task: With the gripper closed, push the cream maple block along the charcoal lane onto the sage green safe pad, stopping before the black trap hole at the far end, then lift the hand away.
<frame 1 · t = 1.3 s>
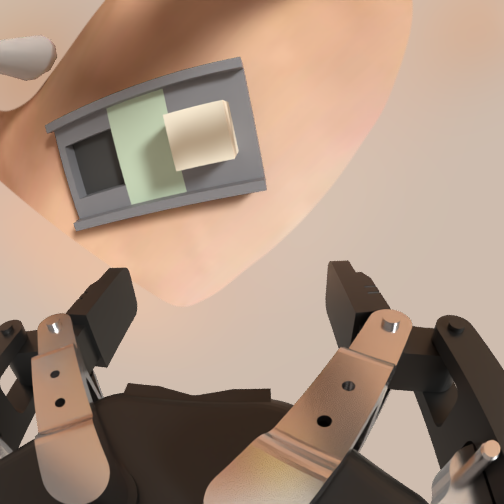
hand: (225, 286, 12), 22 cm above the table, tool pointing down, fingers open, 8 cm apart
salt shaker: (45, 58, 25), on the table
trap lane: (153, 145, 30), on the table
maple block: (208, 131, 28), point 2 cm above the table, touching trap lane
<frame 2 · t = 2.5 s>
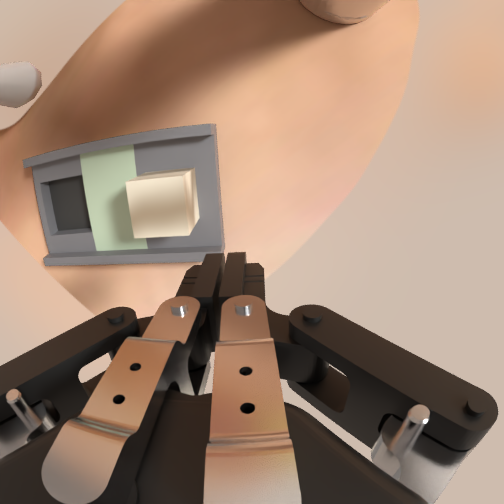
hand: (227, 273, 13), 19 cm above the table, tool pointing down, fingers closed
salt shaker: (31, 84, 25), on the table
trap lane: (121, 196, 31), on the table
maple block: (172, 194, 29), point 2 cm above the table, touching trap lane
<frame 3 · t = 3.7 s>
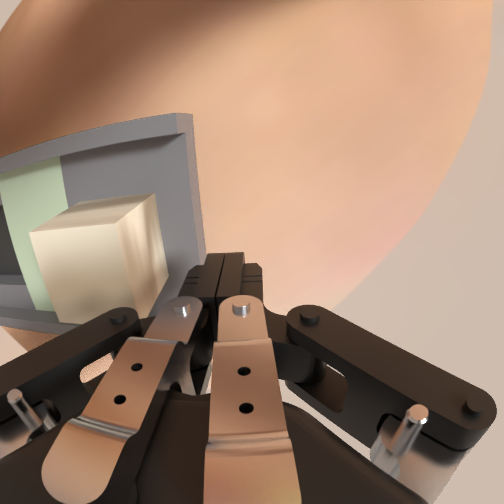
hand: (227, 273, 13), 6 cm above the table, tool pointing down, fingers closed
trap lane: (59, 233, 19), on the table
maple block: (122, 238, 17), point 2 cm above the table, touching trap lane
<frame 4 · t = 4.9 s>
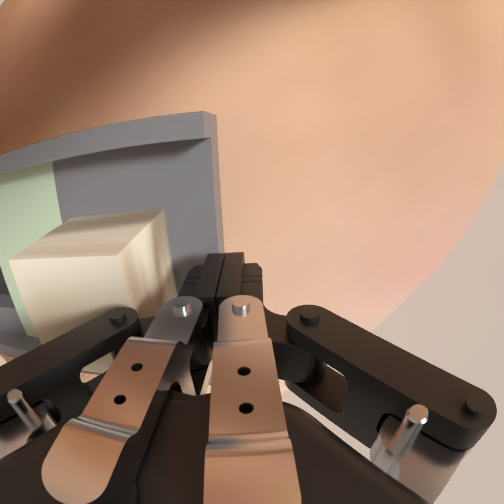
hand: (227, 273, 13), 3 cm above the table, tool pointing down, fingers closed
trap lane: (51, 251, 16), on the table
maple block: (123, 262, 14), point 2 cm above the table, touching gripper
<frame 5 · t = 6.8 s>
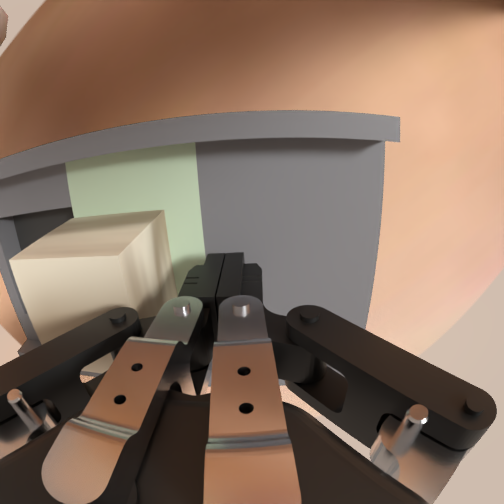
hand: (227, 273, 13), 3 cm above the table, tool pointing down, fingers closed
trap lane: (157, 249, 16), on the table
maple block: (123, 263, 14), point 2 cm above the table, touching gripper, trap lane
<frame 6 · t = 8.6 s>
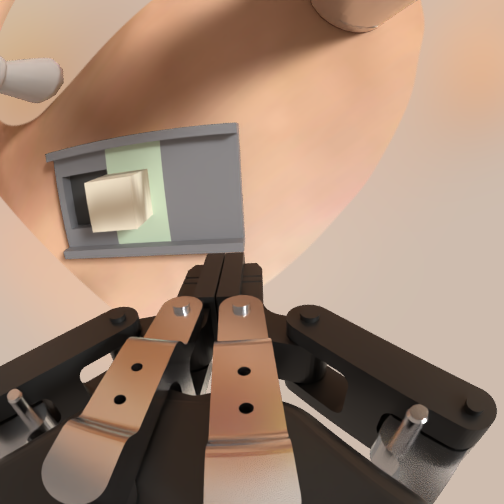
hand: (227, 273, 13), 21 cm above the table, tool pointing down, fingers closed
salt shaker: (52, 81, 27), on the table
trap lane: (144, 190, 33), on the table
maple block: (129, 194, 31), point 2 cm above the table, touching trap lane
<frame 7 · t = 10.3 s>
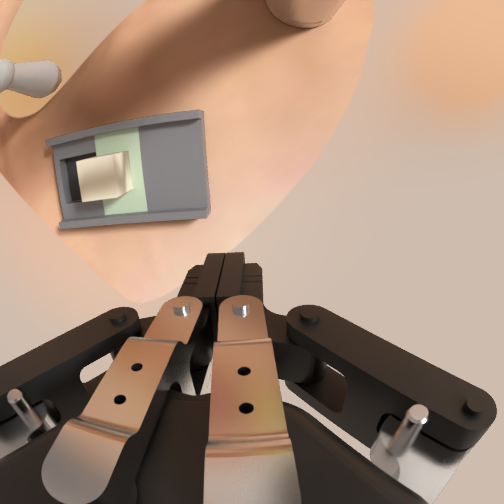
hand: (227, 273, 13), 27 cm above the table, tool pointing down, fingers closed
salt shaker: (52, 80, 32), on the table
trap lane: (127, 169, 37), on the table
maple block: (113, 172, 35), point 2 cm above the table, touching trap lane
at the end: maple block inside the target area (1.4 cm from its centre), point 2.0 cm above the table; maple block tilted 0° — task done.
